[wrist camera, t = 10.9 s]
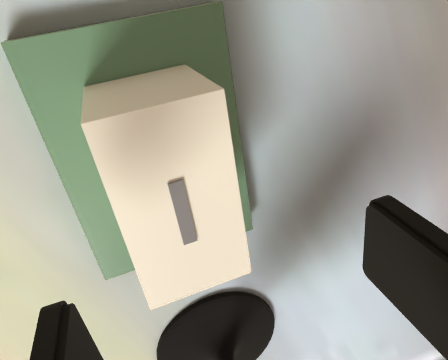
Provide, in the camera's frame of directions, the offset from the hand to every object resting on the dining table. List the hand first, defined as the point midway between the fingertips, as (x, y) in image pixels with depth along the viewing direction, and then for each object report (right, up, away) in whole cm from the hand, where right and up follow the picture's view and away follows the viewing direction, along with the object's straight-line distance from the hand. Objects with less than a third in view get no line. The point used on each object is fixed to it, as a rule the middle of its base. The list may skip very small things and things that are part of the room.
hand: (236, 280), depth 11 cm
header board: (-5, +5, +9) cm, 12 cm away
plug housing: (-4, +4, +8) cm, 10 cm away
